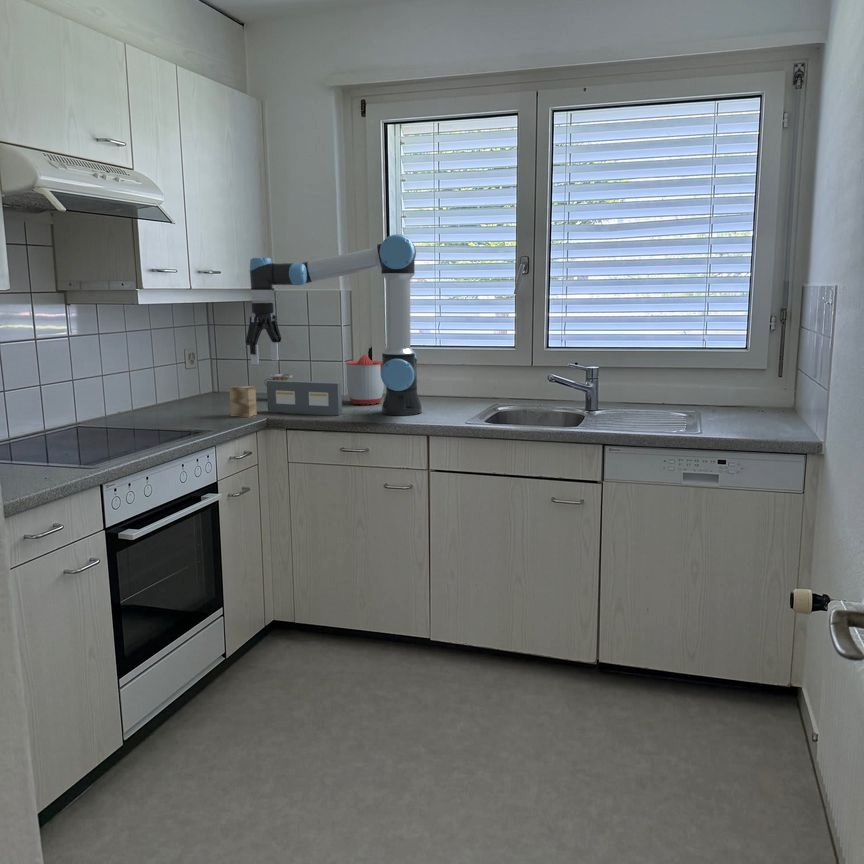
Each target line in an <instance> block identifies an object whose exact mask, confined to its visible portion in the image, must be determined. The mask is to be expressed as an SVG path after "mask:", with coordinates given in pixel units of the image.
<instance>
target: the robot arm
mask: <svg viewBox="0 0 864 864" xmlns="http://www.w3.org/2000/svg"><path fill="white" fill-rule="evenodd" d="M416 249H417V248H416V247H415V244H414V243H413V242H412V240H411V239H410V238H409V237H408V236H406V235H404V234H398V233H396V234H391V235H389V236H387V237H386V238H384V240H383V241H382V243H377V244H376V245H375V246H374V247H373V248H368V249H362V250H357V251H353V252H349V253H344V254H339V255H333V256H329V257H323V258H320V259H313V260H309V261H305V262H300V263H299V262H291V263H289V262H288V263H273V262H272V258H270V257H252V258H250V261H249V277H250V290H251V291H250V295H251V297H250V298H251V302H252V303H251V314H254V316H249V325H248V328H247V333H246V338H245V344H246V346H249V352H250V364H251V365H252V364H253V365H259V364H260V362H259V360H260V358H259V345H258V340H259V339H260V336H261V334H262V331H264V330H266V333H267V335H268V337H269V339H270V340H271V342H270V343H269V344H270V360H271V361H279V343H281V341H282V335H281V332H280V329H279V326H278V323H277V316H276V314H273V313H274V303H273V301H274V294H273V292H274V291H273V289H274V288H273V286H303V285H305V284H309V283H313V282H317V281H324V280H329V279H333V278H339V277H345V276H350V275H354V274H359V273H363V272H369V271H373V270H380V273H381V276H382V277H383V278H384V280H385V319H386V320H385V321H386V322H385V334H386V337H385V339H386V340H385V341H386V346H385V348H384V350H383V351H382V353H381V354H382V355H381V356H382V357H381V361H382V369H381V379H382V381H383V383H384V387H385V389H386V392H385V396H384V400H383V402H382V407H381V413H382V414H383V413H384V414H383V415H387V414H388V416H413V415H412V414H414V415H418V413H419V414H421V412H422V413H423V410H422V409H423V407H422V403H421V400H420V398H419V394H418V372H417V371H418V368H417V367H418V366H417V365H418V358H417V353H416V351H414V350H413V349H412V348H411V279H412V278H413V277H414V275H415V260H416V256H417V251H416ZM271 314H273V315H271Z"/></svg>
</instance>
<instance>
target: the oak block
mask: <svg viewBox="0 0 864 864" xmlns="http://www.w3.org/2000/svg"><path fill="white" fill-rule="evenodd" d="M228 390H229V391H228V392H229V405H230V416H231V415H232V416H247V417H246V418H248V417H250V416H253V415H257V416H258V411H257V394H256V393H257V391H256V386H254V385H234V386H229V387H228ZM253 417H254V416H253ZM250 418H251V417H250Z"/></svg>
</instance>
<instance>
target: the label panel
mask: <svg viewBox="0 0 864 864" xmlns="http://www.w3.org/2000/svg"><path fill="white" fill-rule="evenodd" d="M266 385H267V387H266V395H267V397H266V398H267V412H268V411H269V412H268V413H277V412H284V413H283V414H296V413H303V414H302V415H318V416H319V415H321V416H334V415H338V417H339V416H342V415H343V398H342V396H343V395H342V382H333V381H332V382H330V381H329V382H327V381H308V380H307V381H304V380H303V381H302V380H291V381H282V380H272V379H271V380H269V379H268V380H266ZM341 414H342V415H341Z"/></svg>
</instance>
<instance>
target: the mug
mask: <svg viewBox="0 0 864 864" xmlns="http://www.w3.org/2000/svg"><path fill="white" fill-rule="evenodd" d="M293 377H294V376H293V374H291V373H278V374H277V373H276V374H271V375H270V378H266V379H264V385H265V387H266V388H267V381H269V380H282V381H293V380H292V379H293Z"/></svg>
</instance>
